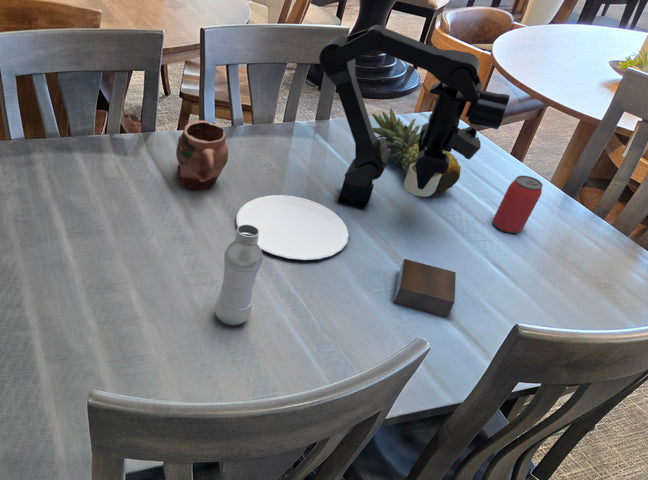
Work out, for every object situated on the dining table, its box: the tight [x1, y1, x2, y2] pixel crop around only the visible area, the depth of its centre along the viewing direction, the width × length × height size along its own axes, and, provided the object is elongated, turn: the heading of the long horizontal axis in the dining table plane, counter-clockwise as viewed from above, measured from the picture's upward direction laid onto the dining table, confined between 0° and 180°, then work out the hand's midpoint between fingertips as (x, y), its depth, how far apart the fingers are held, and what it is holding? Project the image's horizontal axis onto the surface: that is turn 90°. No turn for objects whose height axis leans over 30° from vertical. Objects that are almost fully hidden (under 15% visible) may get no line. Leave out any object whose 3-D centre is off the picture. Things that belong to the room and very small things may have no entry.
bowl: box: [403, 163, 442, 198], centre depth 142 cm, size 7×7×5 cm
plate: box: [235, 194, 349, 261], centre depth 141 cm, size 25×25×1 cm
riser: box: [393, 258, 457, 318], centre depth 125 cm, size 10×10×4 cm
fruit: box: [371, 107, 462, 195], centre depth 162 cm, size 14×12×30 cm
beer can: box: [492, 175, 544, 234], centre depth 143 cm, size 7×7×12 cm
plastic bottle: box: [214, 225, 264, 326], centre depth 111 cm, size 6×7×20 cm
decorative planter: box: [175, 119, 229, 190], centre depth 150 cm, size 20×12×14 cm, turn 13°
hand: (421, 181), depth 142 cm, fingers closed on bowl, 7 cm apart
